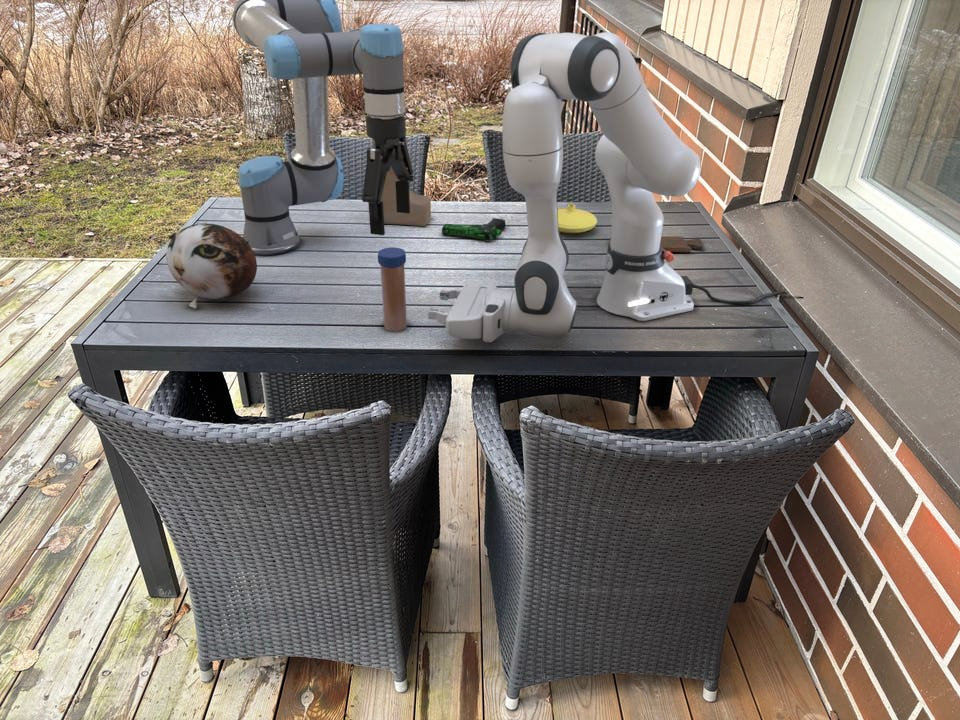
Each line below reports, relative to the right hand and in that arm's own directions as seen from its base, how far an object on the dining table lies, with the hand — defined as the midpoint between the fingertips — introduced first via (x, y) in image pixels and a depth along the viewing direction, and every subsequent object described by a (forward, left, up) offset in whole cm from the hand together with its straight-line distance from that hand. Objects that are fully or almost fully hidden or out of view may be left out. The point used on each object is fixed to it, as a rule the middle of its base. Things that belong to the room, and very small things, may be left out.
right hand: (434, 303), depth 153 cm
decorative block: (-3, -70, -7) cm, 70 cm away
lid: (+8, -4, +10) cm, 14 cm away
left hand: (+8, -4, +17) cm, 19 cm away
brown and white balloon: (+47, -28, -7) cm, 55 cm away
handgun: (-23, -57, -7) cm, 61 cm away
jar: (+8, -4, -7) cm, 11 cm away
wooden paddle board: (-70, -36, -7) cm, 79 cm away
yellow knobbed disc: (-50, -54, -7) cm, 74 cm away
